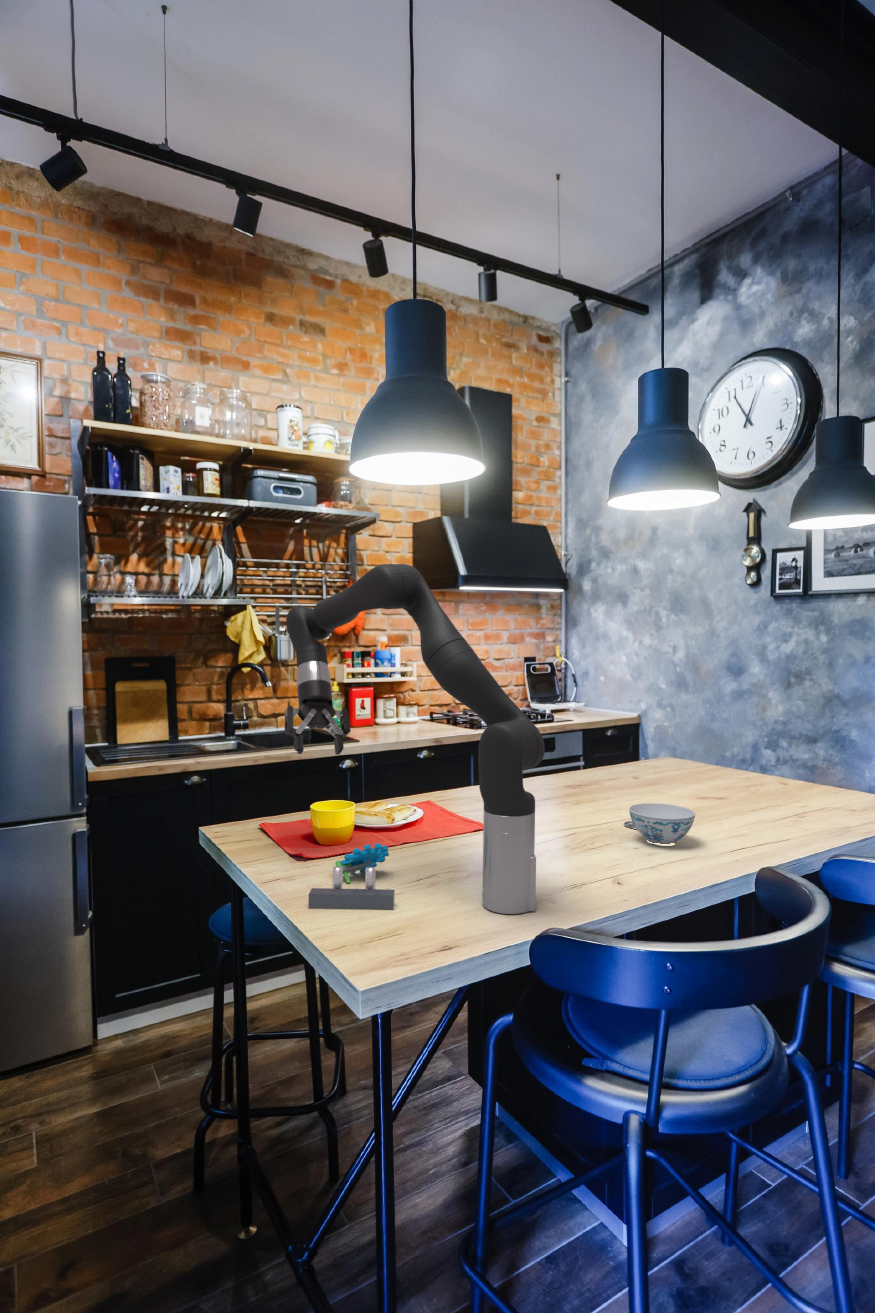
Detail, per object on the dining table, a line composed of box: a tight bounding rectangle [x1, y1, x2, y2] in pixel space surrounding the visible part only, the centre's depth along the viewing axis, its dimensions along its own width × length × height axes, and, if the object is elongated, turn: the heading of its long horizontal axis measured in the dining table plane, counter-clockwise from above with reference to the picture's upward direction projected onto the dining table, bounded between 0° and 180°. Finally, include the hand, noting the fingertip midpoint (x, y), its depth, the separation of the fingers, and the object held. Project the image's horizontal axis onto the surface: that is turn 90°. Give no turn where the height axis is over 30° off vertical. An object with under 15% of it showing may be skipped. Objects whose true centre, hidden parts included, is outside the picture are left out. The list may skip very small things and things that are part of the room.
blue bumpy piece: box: [334, 842, 390, 884], centre depth 142 cm, size 11×6×10 cm
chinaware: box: [628, 802, 696, 844], centre depth 171 cm, size 15×15×8 cm
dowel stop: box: [308, 865, 396, 911], centre depth 129 cm, size 15×5×6 cm, turn 89°
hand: (319, 753), depth 155 cm, fingers open, 8 cm apart
